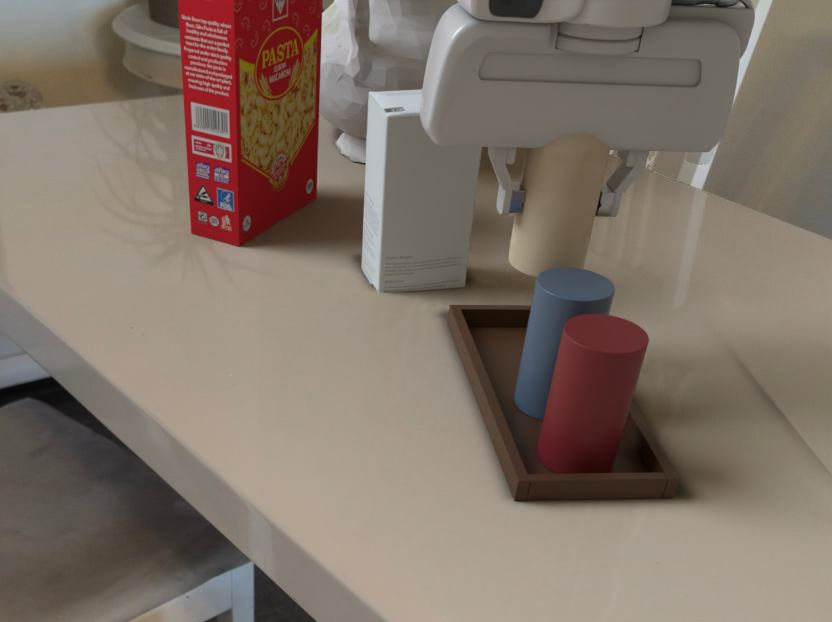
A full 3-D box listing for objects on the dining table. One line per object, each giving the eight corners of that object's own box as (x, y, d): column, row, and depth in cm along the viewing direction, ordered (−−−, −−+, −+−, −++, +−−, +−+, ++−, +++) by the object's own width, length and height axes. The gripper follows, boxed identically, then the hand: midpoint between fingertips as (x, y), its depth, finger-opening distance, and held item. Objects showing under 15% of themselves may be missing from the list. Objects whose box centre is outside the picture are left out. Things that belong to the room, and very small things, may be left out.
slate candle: (574, 385, 73) (602, 267, 67) (593, 422, 69) (625, 301, 63) (506, 385, 72) (528, 266, 66) (522, 422, 69) (547, 300, 62)
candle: (503, 273, 69) (528, 120, 62) (512, 244, 73) (537, 96, 66) (580, 285, 68) (615, 131, 62) (585, 255, 72) (618, 107, 65)
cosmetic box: (444, 266, 89) (467, 84, 78) (466, 295, 85) (493, 107, 74) (355, 270, 87) (366, 85, 77) (373, 300, 83) (387, 109, 72)
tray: (571, 329, 81) (576, 305, 80) (671, 505, 63) (680, 478, 62) (446, 329, 80) (449, 304, 78) (512, 508, 62) (518, 481, 61)
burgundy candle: (600, 436, 68) (633, 313, 62) (623, 479, 64) (660, 353, 58) (528, 436, 67) (554, 313, 61) (546, 480, 64) (576, 353, 57)
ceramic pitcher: (453, 206, 102) (512, -83, 85) (272, 170, 103) (295, -125, 86) (467, 143, 118) (520, -112, 101) (310, 112, 118) (336, -148, 101)
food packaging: (239, 246, 89) (231, -91, 72) (191, 233, 91) (172, -101, 74) (316, 198, 99) (325, -110, 82) (271, 187, 101) (271, -118, 83)
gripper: (744, -25, 62) (681, 199, 72) (428, -40, 60) (407, 193, 69) (785, -3, 58) (712, 233, 67) (446, -18, 55) (420, 228, 65)
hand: (555, 213), depth 68 cm, fingers closed on candle, 5 cm apart
